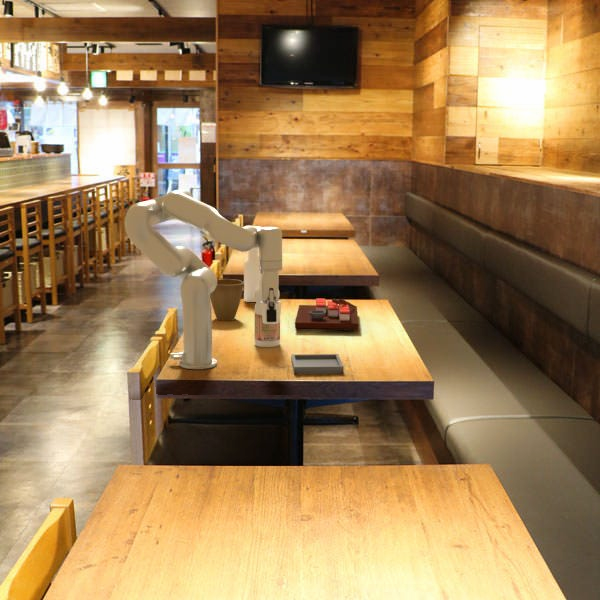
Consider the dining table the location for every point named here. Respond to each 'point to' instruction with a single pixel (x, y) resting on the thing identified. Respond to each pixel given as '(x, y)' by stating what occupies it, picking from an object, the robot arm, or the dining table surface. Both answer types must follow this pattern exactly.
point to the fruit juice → (264, 332)
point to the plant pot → (226, 298)
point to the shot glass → (264, 315)
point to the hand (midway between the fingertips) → (271, 318)
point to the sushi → (327, 316)
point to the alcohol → (251, 275)
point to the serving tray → (316, 364)
